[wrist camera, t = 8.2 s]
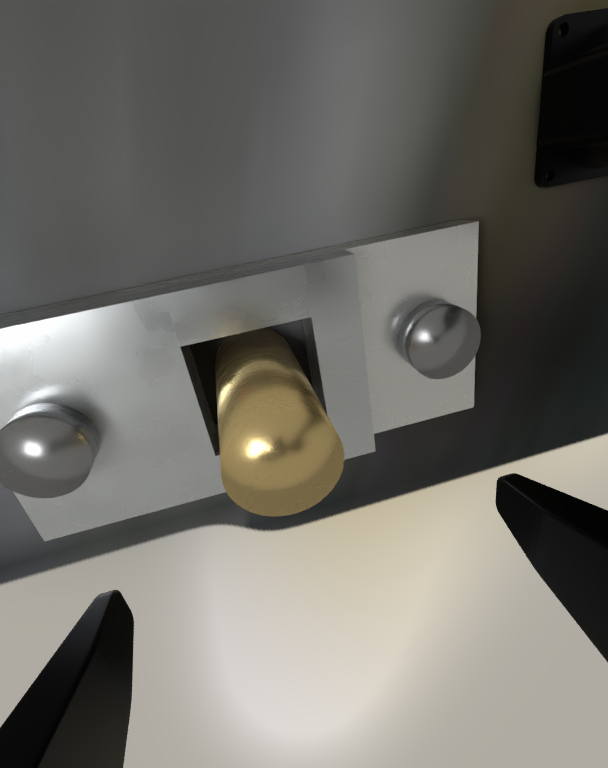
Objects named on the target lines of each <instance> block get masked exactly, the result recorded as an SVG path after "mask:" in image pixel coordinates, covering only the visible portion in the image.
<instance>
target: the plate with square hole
mask: <svg viewBox="0 0 608 768" xmlns="http://www.w3.org/2000/svg"><path fill="white" fill-rule="evenodd" d="M478 232H479V221H471V220H462V219H460V220H455V221H451V222H446V223H441V224H436V225H431V226H427V227H422V228H417V229H412V230H407V231H402V232H398V233H393V234H388V235H383V236H378V237H374V238H369V239H364V240H359V241H354V242H349V243H345V244H340V245H335V246H330V247H325V248H321V249H316V250H311V251H306V252H301V253H296V254H292V255H287V256H282V257H277V258H272V259H268V260H263V261H258V262H253V263H248V264H243V265H239V266H234V267H229V268H224V269H219V270H214V271H210V272H205V273H200V274H195V275H190V276H186V277H181V278H176V279H171V280H166V281H161V282H157V283H152V284H147V285H142V286H137V287H133V288H128V289H123V290H118V291H113V292H108V293H104V294H99V295H94V296H89V297H84V298H80V299H75V300H70V301H65V302H60V303H55V304H51V305H46V306H41V307H36V308H31V309H27V310H22V311H17V312H12V313H7V314H2V315H0V483H1V484H2V485H4V486H5V487H7V488H8V489H10V490H12V491H13V492H14V493H15V495H16V497H17V498H18V500H19V501H20V503H21V505H22V506H23V508H24V509H25V511H26V513H27V514H28V516H29V517H30V519H31V521H32V522H33V524H34V525H35V527H36V529H37V530H38V532H39V533H40V535H41V537H42V538H43V540H44V541H48V540H51V539H55V538H59V537H62V536H66V535H70V534H73V533H77V532H81V531H84V530H88V529H92V528H95V527H99V526H103V525H106V524H110V523H114V522H117V521H121V520H125V519H128V518H132V517H136V516H139V515H143V514H147V513H150V512H154V511H158V510H161V509H165V508H169V507H173V506H176V505H180V504H184V503H187V502H191V501H195V500H198V499H202V498H206V497H209V496H213V495H217V494H220V493H224V492H226V490H225V488H224V486H223V483H222V478H221V466H220V448H219V430H218V424H214V422H213V418H212V415H211V412H210V409H209V405H208V402H207V399H206V396H205V393H204V389H203V386H202V383H201V380H200V376H199V373H198V370H197V367H196V364H195V360H194V357H193V354H192V351H191V348H190V344H195V343H199V342H204V341H208V340H212V339H217V338H221V337H226V336H230V335H234V334H239V333H243V332H248V331H252V330H256V329H261V328H265V327H270V326H274V325H278V324H283V323H287V322H292V321H296V320H300V319H301V323H302V328H303V334H304V340H305V346H306V351H307V357H308V363H309V369H310V374H311V380H312V386H313V390H314V392H315V394H316V396H317V397H318V399H319V401H320V403H321V405H322V406H323V408H324V410H325V412H326V414H327V416H328V417H329V419H330V421H331V423H332V425H333V426H334V428H335V430H336V432H337V434H338V436H339V437H340V439H341V442H342V444H343V448H344V457H345V458H344V460H345V459H349V458H352V457H356V456H360V455H364V454H367V453H371V452H375V451H376V450H375V441H374V434H375V433H379V432H383V431H386V430H390V429H394V428H398V427H401V426H405V425H409V424H413V423H416V422H420V421H424V420H428V419H431V418H435V417H439V416H443V415H446V414H450V413H454V412H458V411H461V410H465V409H469V408H473V407H474V385H475V355H476V353H477V351H478V348H479V345H480V340H481V330H480V326H479V323H478V321H477V319H476V309H477V270H478Z"/></svg>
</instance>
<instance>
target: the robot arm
mask: <svg viewBox="0 0 608 768" xmlns="http://www.w3.org/2000/svg"><path fill="white" fill-rule="evenodd" d="M559 26H560V27H561V29H562V33H561V37H560V36H559V35H558V29H559ZM547 171H548V178H547V179H545V175H546V172H547ZM605 175H608V8H606V9H599V10H592V11H586V12H579V13H572V14H566V15H563V16H561V17H559V18H557V19H554V20H553V21H552V22H551V23H550V24H549V26H548V28H547V32H546V40H545V52H544V65H543V77H542V90H541V102H540V115H539V128H538V140H537V153H536V165H535V183H536V185H537V186H539V187H551V186H556V185H560V184H565V183H570V182H575V181H580V180H585V179H590V178H595V177H600V176H605ZM496 507H497V510H498V512H499V514H500V515H501V517H502V518H503V520H504V522H505V523H506V525H507V526H508V528H509V529H510V531H511V533H512V534H513V536H514V537H515V539H516V540H517V542H518V543H519V545H520V546H521V548H522V550H523V551H524V553H525V554H526V556H527V558H528V559H529V561H530V562H531V564H532V565H533V567H534V568H535V570H536V571H537V572H538V574H539V575H540V576H541V578H542V579H543V580H544V581H545V582H546V584H547V585H548V586H549V588H550V589H551V590H552V592H553V593H554V594H555V595H556V597H557V598H558V599H559V600H560V602H561V603H562V604H563V606H564V607H565V608H566V609H567V611H568V612H569V613H570V615H571V616H572V617H573V618H574V620H575V621H576V622H577V624H578V625H579V626H580V627H581V629H582V630H583V631H584V632H585V634H586V635H587V636H588V638H589V639H590V640H591V641H592V643H593V644H594V645H595V647H596V648H597V649H598V650H599V652H600V653H601V654H602V655H603V657H604V658H605V659H606V661H607V662H608V511H607V510H605V509H602V508H600V507H597V506H595V505H592V504H590V503H587V502H585V501H582V500H580V499H578V498H575V497H572V496H570V495H568V494H565V493H563V492H560V491H558V490H556V489H553V488H551V487H548V486H546V485H543V484H541V483H538V482H536V481H533V480H530V479H528V478H526V477H523V476H521V475H519V474H509V475H505V476H502V477H500V478H498V480H497V488H496ZM133 634H134V620H133V615H132V613H131V610H130V608H129V607H128V605H127V603H126V601H125V600H124V598H123V596H122V594H121V593H120V592H119V591H118V590H113V591H109V592H106V593H102V594H100V595H98V596H97V597H96V598H95V599H94V600H93V602H92V603H91V604H90V606H89V607H88V609H87V610H86V611H85V613H84V614H83V615H82V617H81V618H80V619H79V621H78V622H77V624H76V625H75V626H74V628H73V629H72V631H71V632H70V633H69V635H68V636H67V637H66V639H65V640H64V641H63V643H62V644H61V645H60V647H59V648H58V650H57V651H56V652H55V654H54V655H53V656H52V658H51V659H50V661H49V662H48V663H47V665H46V666H45V667H44V669H43V670H42V671H41V673H40V674H39V676H38V677H37V679H36V680H35V681H34V682H33V684H32V685H31V687H30V688H29V689H28V691H27V692H26V693H25V695H24V696H23V697H22V699H21V700H20V702H19V703H18V704H17V706H16V707H15V709H14V710H13V711H12V713H11V714H10V715H9V717H8V718H7V719H6V721H5V722H4V723H3V725H2V726H1V727H0V768H123V764H124V756H125V748H126V740H127V732H128V725H129V717H130V708H131V698H132V670H133Z"/></svg>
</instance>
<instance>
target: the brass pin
mask: <svg viewBox="0 0 608 768" xmlns="http://www.w3.org/2000/svg"><path fill="white" fill-rule="evenodd" d="M215 377H216V395H217V412H218V430H219V448H220V466H221V478H222V483H223V486H224V488H225V490H226V492H227V494H228V495H229V496H230V498H231V499H232V500H233V501H234V502H235V503H236V504H238V505H239V506H240V507H242V508H243V509H245V510H247V511H250V512H252V513H255V514H259V515H264V516H285V515H291V514H295V513H298V512H301V511H304V510H306V509H308V508H310V507H312V506H313V505H315V504H317V503H318V502H319V501H321V500H322V499H323V498H324V497H326V496H327V495H328V494H329V493H330V491H331V490H332V489H333V488H334V486H335V485H336V484H337V482H338V480H339V478H340V476H341V473H342V471H343V466H344V458H345V457H344V448H343V444H342V442H341V439H340V437H339V436H338V434H337V432H336V430H335V428H334V426H333V425H332V423H331V421H330V419H329V417H328V416H327V414H326V412H325V410H324V408H323V406H322V405H321V403H320V401H319V399H318V397H317V396H316V394H315V392H314V390H313V388H312V386H311V385H310V383H309V381H308V379H307V377H306V376H305V374H304V372H303V370H302V368H301V366H300V365H299V363H298V361H297V359H296V357H295V355H294V354H293V352H292V350H291V348H290V346H289V345H288V343H287V341H286V340H285V339H284V338H283V337H282V336H281V335H280V334H278V333H277V332H275V331H274V330H272V329H269V328H266V327H265V328H261V329H256V330H252V331H248V332H243V333H239V334H234V335H230V336H227V337H226V338H225V339H224V340H223V342H222V343H221V345H220V346H219V348H218V350H217V353H216V357H215Z"/></svg>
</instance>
